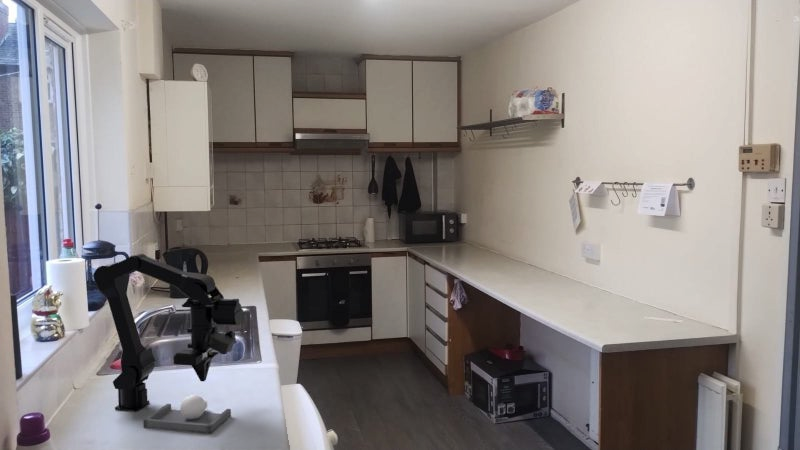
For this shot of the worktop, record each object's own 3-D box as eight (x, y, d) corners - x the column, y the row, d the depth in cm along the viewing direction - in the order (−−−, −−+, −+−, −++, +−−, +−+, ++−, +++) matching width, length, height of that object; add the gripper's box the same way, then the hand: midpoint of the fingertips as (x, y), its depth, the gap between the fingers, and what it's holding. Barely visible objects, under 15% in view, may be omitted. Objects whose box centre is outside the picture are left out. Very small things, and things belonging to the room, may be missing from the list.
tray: (143, 427, 155) (143, 420, 155) (167, 410, 166) (167, 403, 165) (210, 433, 152) (210, 426, 151) (230, 416, 162) (230, 408, 162)
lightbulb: (213, 391, 168) (199, 393, 157) (216, 414, 166) (201, 418, 156) (191, 395, 168) (175, 397, 157) (193, 418, 167) (177, 422, 156)
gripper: (212, 334, 154) (213, 395, 155) (245, 317, 172) (246, 372, 173) (171, 331, 156) (173, 392, 157) (208, 314, 174) (209, 369, 175)
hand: (203, 380), depth 166 cm, fingers closed
